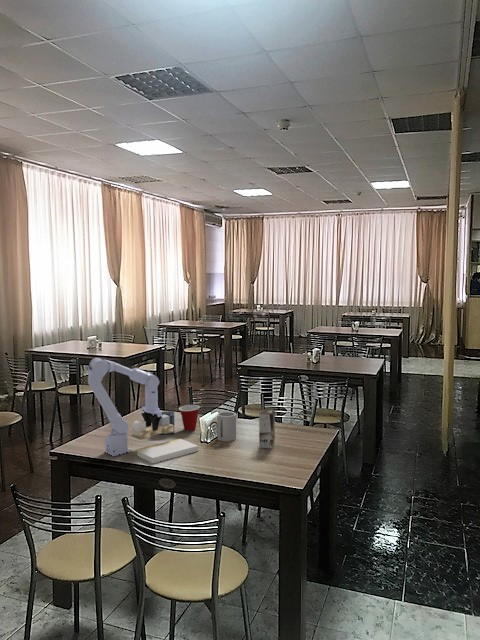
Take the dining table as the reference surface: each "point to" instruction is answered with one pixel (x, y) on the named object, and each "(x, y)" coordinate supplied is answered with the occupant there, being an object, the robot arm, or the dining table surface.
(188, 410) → the plastic cup
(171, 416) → the box
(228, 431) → the cup
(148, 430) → the pallet
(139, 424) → the crate
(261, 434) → the coffee box
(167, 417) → the block
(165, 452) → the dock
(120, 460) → the dining table surface
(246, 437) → the dining table surface
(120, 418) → the robot arm
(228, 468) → the dining table surface
